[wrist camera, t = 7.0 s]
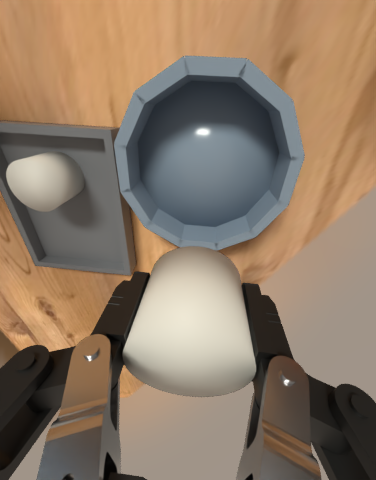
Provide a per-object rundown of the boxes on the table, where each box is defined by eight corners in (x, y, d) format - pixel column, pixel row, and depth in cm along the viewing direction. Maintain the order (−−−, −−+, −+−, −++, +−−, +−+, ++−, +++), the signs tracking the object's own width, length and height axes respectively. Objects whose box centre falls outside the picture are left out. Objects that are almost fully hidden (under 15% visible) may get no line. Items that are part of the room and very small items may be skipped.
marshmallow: (48, 194, 24) (19, 209, 21) (33, 149, 22) (-4, 157, 18) (88, 197, 24) (66, 213, 20) (78, 152, 21) (50, 161, 18)
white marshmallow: (153, 307, 13) (129, 388, 9) (149, 241, 10) (113, 319, 6) (232, 315, 13) (241, 403, 9) (249, 251, 10) (273, 337, 6)
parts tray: (47, 255, 31) (35, 265, 29) (-9, 119, 21) (-33, 120, 19) (136, 264, 30) (130, 275, 28) (120, 127, 21) (110, 129, 19)
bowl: (138, 223, 27) (127, 242, 23) (124, 64, 18) (101, 51, 14) (262, 234, 26) (271, 255, 22) (308, 73, 17) (336, 62, 13)
